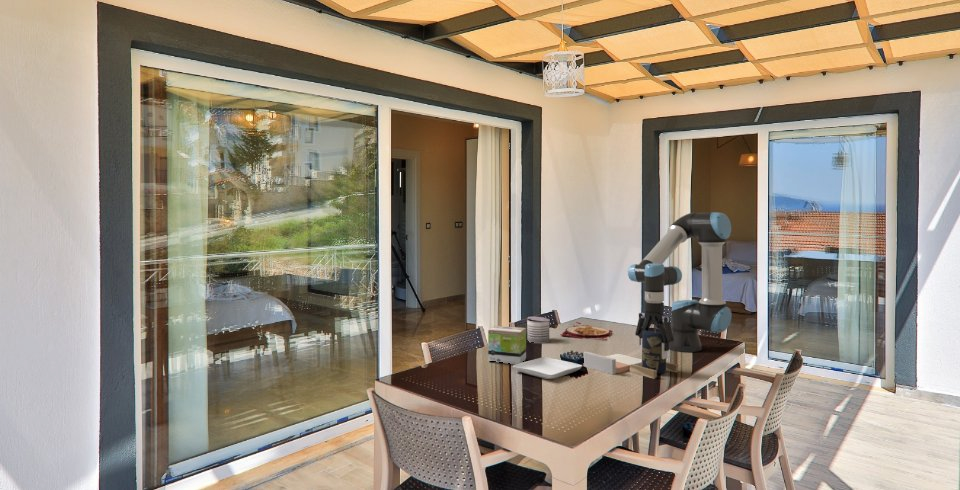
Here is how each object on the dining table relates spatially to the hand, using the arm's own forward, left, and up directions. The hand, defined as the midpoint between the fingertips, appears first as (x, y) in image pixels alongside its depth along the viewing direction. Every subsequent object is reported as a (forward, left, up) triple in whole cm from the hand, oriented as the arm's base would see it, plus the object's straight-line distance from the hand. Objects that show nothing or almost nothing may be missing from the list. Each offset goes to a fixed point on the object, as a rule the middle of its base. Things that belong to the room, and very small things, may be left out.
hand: (653, 355), depth 234 cm
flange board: (+5, -16, -7) cm, 18 cm away
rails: (0, 0, -7) cm, 7 cm away
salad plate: (+34, -27, -7) cm, 44 cm away
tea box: (+36, -51, -7) cm, 63 cm away
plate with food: (-34, -68, -8) cm, 76 cm away
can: (-1, -72, -7) cm, 72 cm away
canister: (0, 0, -7) cm, 7 cm away
